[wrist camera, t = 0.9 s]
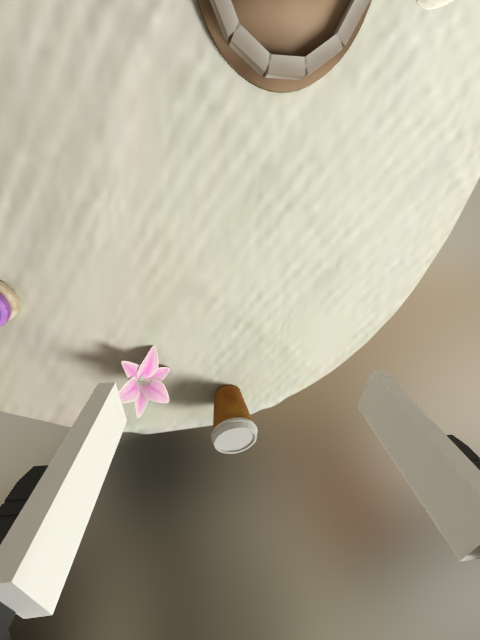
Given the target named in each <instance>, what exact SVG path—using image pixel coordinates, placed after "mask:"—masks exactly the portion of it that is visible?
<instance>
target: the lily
mask: <svg viewBox="0 0 480 640" xmlns="http://www.w3.org/2000/svg"><path fill="white" fill-rule="evenodd" d="M121 364H122V366H123V369H124V371H125V373H126V375H127V377H128V379H129V381H128V382H127V383H126V384H125V385H124V386H123V387H122V388H121V389H120V391H119V392H118V393H119V396H120V400H121V403H129V402H133V401H135V409H136V415H137V418H140V416H141V415H142V413H143V412H144V410H145V408H146V406H147V404H148V402H149V400H150V401H153V402H158V403H169V395H168V392H167V390H166V387H165V385H164V384H163V383H162V382H161V381H162V380H163V379H164V378H165V377H166V376H167V374H168V373H169V371H170V368H169V367H159V368H158V366H159V359H158V353H157V349H156V347H155V346H152V348H151V349H150V351H149V352H148V354H147V356H146V357H145V359H144V360H143V362H142V363H141V365H138V364H135V363H132V362H129V361H121Z"/></svg>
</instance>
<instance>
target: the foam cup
mask: <svg viewBox="0 0 480 640" xmlns="http://www.w3.org/2000/svg"><path fill="white" fill-rule="evenodd" d="M416 1H417V4H419V5H420V6H421V7H422V8H424V9H425V10H430V9H436V8H438V7H441V6H443V5H446V4H448V3H450V2H452V1H454V0H416Z"/></svg>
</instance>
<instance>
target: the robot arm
mask: <svg viewBox="0 0 480 640" xmlns="http://www.w3.org/2000/svg"><path fill="white" fill-rule="evenodd" d="M358 408H359V410H360V412H361V413H362V415H363V416H364V418H365V419H366V421H367V422H368V424H369V425H370V427H371V428H372V430H373V431H374V433H375V434H376V436H377V437H378V439H379V440H380V442H381V443H382V445H383V446H384V448H385V449H386V451H387V452H388V454H389V455H390V457H391V458H392V460H393V461H394V463H395V464H396V466H397V467H398V469H399V470H400V472H401V473H402V475H403V476H404V478H405V479H406V480H407V482H408V484H409V485H410V487H411V488H412V490H413V491H414V493H415V494H416V496H417V497H418V499H419V501H420V502H421V504H422V505H423V506H424V508H425V510H426V511H427V513H428V514H429V515H430V517H431V519H432V520H433V522H434V523H435V525H436V526H437V528H438V529H439V530H440V532H441V533H442V535H443V537H444V538H445V540H446V541H447V543H448V544H449V545H450V547H451V548H452V550H453V552H454V553H455V555H456V556H457V558H458V559H459V560H460V561H465V560H473V559H480V458H479V457H478V456H477V455H476V454H475V453H474V452H473V451H472V450H471V449H470V448H469V447H468V446H467V445H465V444H464V443H463V442H462V441H460V440H459V439H457V438H456V437H454V436H453V435H445V433H444V432H443V431H441V429H440V428H439V427H438V426H437V425H436V424H435V423H434V422H433V421H432V420H431V419H430V418H429V417H428V416H427V415H426V414H425V413H424V411H423V410H422V409H421V408H420V407H419V406H418V405H417V404H416V403H415V402H414V401H413V400H412V399H411V398H410V397H409V396H408V395H407V394H406V393H405V391H404V390H403V389H402V388H401V387H400V386H398V384H397V383H396V382H395V381H394V380H393V379H392V378H391V377H390V376H389V375H388V374H387V373H386V372H385V371H371V373H370V376H369V379H368V381H367V384H366V387H365V389H364V392H363V395H362V397H361V400H360V402H359V405H358ZM126 422H127V420H126V417H125V413H124V410H123V406H122V403H121V400H120V396H119V393H118V390H117V386H116V383H115V382H111V383H98V385H97V387H96V388H95V390H94V391H93V393H92V395H91V396H90V398H89V400H88V401H87V403H86V405H85V406H84V408H83V410H82V411H81V413H80V415H79V416H78V418H77V419H76V421H75V423H74V424H73V426H72V428H71V429H70V431H69V433H68V434H67V436H66V438H65V439H64V441H63V443H62V444H61V446H60V447H59V449H58V451H57V453H56V454H55V456H54V457H53V459H52V461H51V462H50V464H49V465H46V466H34V467H33V468H32V469H31V470H29V472H27V473H26V474H25V475H24V476H23V477H22V478H21V479H20V480H19V481H18V482H17V483H16V485H15V486H14V488H13V489H12V491H11V492H10V494H9V495H8V497H7V498H6V500H5V503H4V504H2V505H1V507H0V640H11V639H10V634H9V631H8V628H9V626H10V624H11V622H12V620H13V617H14V615H15V613H16V614H18V615H19V616H20V617H22V618H23V619H25V618H34V617H41V616H48V615H53V612H54V609H55V606H56V604H57V602H58V599H59V596H60V594H61V591H62V588H63V586H64V583H65V580H66V578H67V575H68V573H69V570H70V568H71V565H72V562H73V560H74V557H75V555H76V552H77V549H78V547H79V544H80V541H81V539H82V536H83V534H84V531H85V528H86V526H87V523H88V521H89V518H90V515H91V513H92V510H93V508H94V505H95V502H96V500H97V497H98V494H99V492H100V489H101V487H102V484H103V482H104V479H105V476H106V474H107V471H108V469H109V466H110V463H111V461H112V458H113V456H114V453H115V450H116V448H117V445H118V442H119V440H120V437H121V435H122V432H123V429H124V427H125V424H126Z"/></svg>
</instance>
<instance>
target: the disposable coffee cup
mask: <svg viewBox="0 0 480 640" xmlns="http://www.w3.org/2000/svg"><path fill="white" fill-rule="evenodd" d="M257 431H258V430H257V427H256V425H255V424H254V423H253V421H252V419H251V417H250V414H249V412H248V409H247V407H246V404H245V402H244V399H243V397H242V394H241V392H240V389H239V388H238V387H236V386H234V385H225V386H222V387H220V388H219V389H217V390H216V392H215V395H214V421H213V432H212V435H211V441H212V443H213V444H214V446H215V448H216V449H217V450H218V451H219V452H222V453H227V454H233V453H238V452H242V451H244V450H246V449H248V448H250V447H251V446H252V445H253V444H254V443H255V441H256V438H257Z"/></svg>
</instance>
